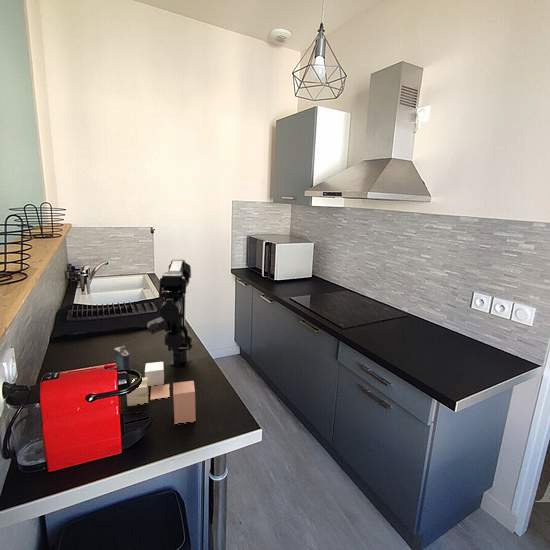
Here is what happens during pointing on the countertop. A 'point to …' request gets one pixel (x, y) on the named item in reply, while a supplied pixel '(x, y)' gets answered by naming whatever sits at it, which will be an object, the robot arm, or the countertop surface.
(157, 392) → the colour card
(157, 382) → the white block
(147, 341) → the countertop surface
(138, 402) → the birch block
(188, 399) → the terracotta block
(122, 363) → the flask
